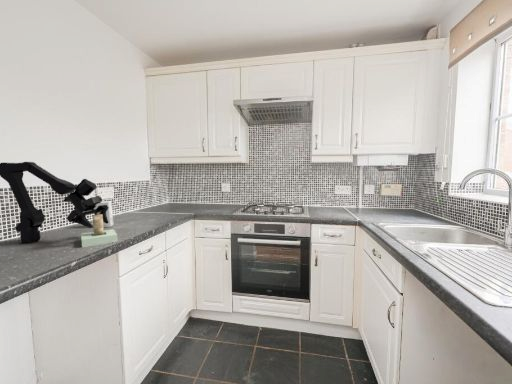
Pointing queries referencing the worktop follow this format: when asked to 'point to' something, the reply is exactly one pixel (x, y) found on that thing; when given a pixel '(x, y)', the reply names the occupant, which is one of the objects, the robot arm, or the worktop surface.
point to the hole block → (98, 238)
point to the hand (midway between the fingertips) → (100, 225)
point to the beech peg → (98, 224)
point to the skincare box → (107, 213)
